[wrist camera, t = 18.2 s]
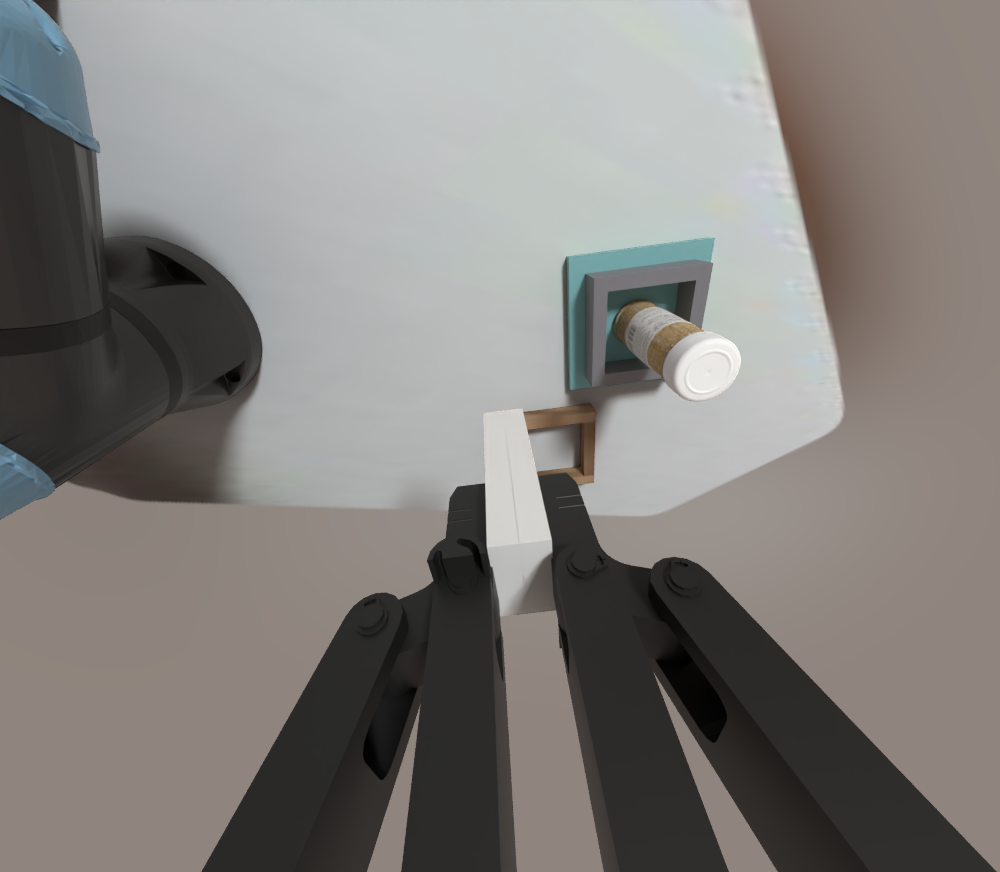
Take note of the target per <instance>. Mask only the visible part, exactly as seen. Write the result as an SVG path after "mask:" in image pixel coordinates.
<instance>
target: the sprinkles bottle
mask: <svg viewBox="0 0 1000 872" xmlns="http://www.w3.org/2000/svg"><path fill="white" fill-rule="evenodd" d="M614 333H615V336H616V337H617V339H618V340H619V341H620V342H621V343H622V344H624V345H626V346H627V347H628V348H629V350H630V351H631V352H633V353H634V354H635V355H636V356H637V357H638V358H639V359H640V360H641V361H642V362H644V363H645V364H646V365H647V366H648V367H649V368H650V369H651V370H653V371H655V372H656V373H658V374H659V375H660V376H661V377H662V378H663V379H664V380H665V382H666V384H667V385H668V386H669V387H670V388H671V389H672V390H673V391H674V392H675V393H677V394H678V395H679V396H681V397H682V398H684V399H686V400H689V401H705V400H709V399H711V398H714V397H716V396H717V395H719V394H721V393H722V392H723V391H725V390H726V389H727V388H728V387H729V386H730V385H731V384H732V383H733V381H734V380H735V378H736V376H737V374H738V372H739V369H740V364H741V358H740V353H739V351H738V349H737V347H736V346H735V345H734V344H733V343H732V342H730V341H729V340H727V339H725V338H723V337H722V336H720V335H718V334H716V333H713V332H705V331H704V330H702V329H700V328H698V327H696V326H695V325H693V324H692V323H690V322H688V321H686V320H684V319H682V318H680V317H678V316H676V315H674V314H672V313H670V312H669V311H667V310H664V309H662V308H659V307H657V306H655V305H654V304H653V303H652V302H650V301H648V300H643V299H640V300H634V301H631V302H629V303H628V304H626V305H625V306H624V307H623V308H622V309H621V310H620V311H619V312H618V314H617V316H616V318H615V322H614Z"/></svg>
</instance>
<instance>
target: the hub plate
mask: <svg viewBox="0 0 1000 872" xmlns="http://www.w3.org/2000/svg"><path fill="white" fill-rule="evenodd" d="M714 239H715V238H702V239H695V240H687V241H680V242H672V243H665V244H658V245H650V246H643V247H635V248H628V249H620V250H613V251H605V252H598V253H590V254H583V255H575V256H568V257H566V258H567V317H568V376H569V388H570V390H576V389H584V388H591V387H599V386H607V385H615V384H623V383H631V382H639V381H647V380H655V379H662V377H661V376H660V375H659V374H658V373H656V372H655V371H653V370H651V369H650V368H649V367H648V366H647V365H646V364H645V363H644V362H642V361H641V360H640V359H639V358H638V357H637V356H636V355H635V354H634V353H633V352H631V351H630V350H629V348H628V347H627V346H626V345H624V344H622V343H621V342H620V341H619V340H618V339H617V337H616V336H615V333H614V322H615V318H616V316H617V314H618V312H619V311H620V310H621V309H622V308H623V307H624V306H625V305H626V304H628V303H629V302H631V301H634V300H640V299H643V300H648V301H650V302H652V303H653V304H654V305H655V306H657V307H659V308H662V309H664V310H667V311H669V312H670V313H672V314H674V315H676V316H678V317H680V318H682V319H684V320H686V321H688V322H690V323H692V324H693V325H695V326H696V327H698V328H700V329H701V328H702V323H703V317H704V311H705V306H706V300H707V294H708V289H709V283H710V277H711V272H712V266H713V263H711V257H712V251H713V245H714Z"/></svg>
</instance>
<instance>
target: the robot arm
mask: <svg viewBox="0 0 1000 872" xmlns="http://www.w3.org/2000/svg"><path fill="white" fill-rule="evenodd" d="M96 152H97V153H100V145H99V142H98V141H97V140H96V139H95V138H94V137H93V131H92V126H91V120H90V115H89V110H88V104H87V98H86V92H85V85H84V78H83V72H82V68H81V64H80V61H79V59H78V56H77V54H76V52H75V50H74V48H73V46H72V44H71V43H70V41H69V39H68V38H67V37H66V35H65V34H64V32H63V31H62V30H61V29H60V27H59V26H58V25H57V24H56V23H55V22H54V21H53V19H52V18H51V17H50V16H49V15H48V14H47V13H46V12H45V11H44V10H43V9H42V8H41V7H39V6H38V5H37V4H36V3H35V2H34V1H32V0H0V520H1V519H2V518H4V517H6V516H8V515H9V514H11V513H13V512H15V511H16V510H18V509H20V508H22V507H23V506H25V505H27V504H29V503H31V502H33V501H34V500H38V499H42V498H45V497H47V496H48V495H50V494H52V492H53V491H55V490H54V489H56V488H57V487H58V486H60V485H62V484H63V483H65V482H66V481H68V480H69V479H71V478H72V477H74V476H75V475H77V474H78V473H80V472H81V471H83V470H84V469H86V468H87V467H89V466H90V465H92V464H93V463H95V462H96V461H98V460H99V459H101V458H102V457H104V456H105V455H107V454H108V453H110V452H111V451H113V450H114V449H116V448H117V447H119V446H120V445H122V444H123V443H125V442H126V441H128V440H129V439H131V438H132V437H134V436H135V435H137V434H138V433H140V432H141V431H143V430H144V429H146V428H147V427H149V426H150V425H152V424H153V423H155V422H156V421H158V420H159V419H161V418H162V417H164V416H165V415H167V414H172V413H177V412H181V411H186V410H191V409H195V408H200V407H205V406H210V405H214V404H217V403H219V402H222V401H224V400H226V399H228V398H230V397H231V396H233V395H234V394H236V393H237V392H238V391H240V390H241V389H243V388H244V387H245V386H246V385H248V383H249V382H250V381H251V380H252V379H253V378H254V376H255V374H256V372H257V370H258V368H259V365H260V360H261V339H260V334H259V330H258V327H257V324H256V321H255V319H254V317H253V315H252V313H251V311H250V309H249V307H248V306H247V304H246V302H245V301H244V299H243V298H242V296H241V295H240V294H239V292H238V291H237V290H236V289H235V288H234V286H233V285H232V284H231V283H230V282H229V281H228V280H227V279H226V278H225V277H224V276H223V275H222V274H221V273H220V272H218V271H217V270H216V269H215V268H214V267H212V266H211V265H210V264H208V263H207V262H206V261H204V260H203V259H201V258H200V257H198V256H196V255H195V254H193V253H191V252H189V251H187V250H185V249H183V248H181V247H179V246H177V245H174V244H171V243H169V242H166V241H162V240H159V239H154V238H149V237H140V236H128V237H113V238H103V230H102V218H101V206H100V194H99V182H98V170H97V158H96ZM484 451H485V483H484V484H476V485H468V486H460V487H457V488H456V490H455V491H454V493H453V494H452V496H451V497H450V501H449V513H448V524H447V531H446V538H445V539H444V540H442V541H440V542H439V543H437V545H435V547H434V548H433V549H432V550H431V551H430V554H429V557H428V559H427V562H428V564H429V568H430V571H431V574H432V577H433V580H434V581H433V582H432V583H431V584H429V585H428V586H427V587H426V588H424V589H422V590H420V591H418V592H416V593H414V594H412V595H409V596H407V597H404V598H402V599H400V600H398V599H397V598H396V596H394V595H392V594H388V593H375V594H373V595H370V596H368V597H365V598H363V599H362V600H361V601H359V602H358V603H357V604H356V605H354V606H353V608H352V609H351V610H350V611H349V613H348V614H347V615H346V617H345V619H344V620H343V622H342V624H341V626H340V627H339V629H338V631H337V633H336V635H335V636H334V638H333V640H332V642H331V643H330V645H329V647H328V649H327V650H326V652H325V654H324V656H323V658H322V659H321V661H320V663H319V665H318V667H317V668H316V670H315V672H314V673H313V675H312V677H311V679H310V681H309V682H308V684H307V686H306V688H305V690H304V691H303V693H302V695H301V697H300V698H299V700H298V702H297V704H296V705H295V707H294V709H293V711H292V712H291V714H290V716H289V718H288V720H287V721H286V723H285V725H284V727H283V728H282V730H281V732H280V734H279V736H278V737H277V739H276V741H275V743H274V744H273V746H272V748H271V750H270V752H269V753H268V755H267V757H266V758H265V760H264V762H263V764H262V766H261V767H260V769H259V771H258V773H257V774H256V776H255V778H254V780H253V782H252V783H251V785H250V787H249V789H248V790H247V792H246V794H245V796H244V797H243V799H242V801H241V803H240V805H239V806H238V808H237V810H236V812H235V813H234V815H233V817H232V819H231V820H230V822H229V824H228V826H227V828H226V829H225V831H224V833H223V835H222V837H221V838H220V840H219V842H218V844H217V846H216V847H215V849H214V851H213V852H212V854H211V856H210V858H209V859H208V861H207V863H206V865H205V866H204V868H203V870H202V872H367V869H368V866H369V863H370V860H371V857H372V854H373V850H374V847H375V844H376V841H377V838H378V835H379V832H380V829H381V825H382V822H383V819H384V816H385V813H386V810H387V807H388V803H389V800H390V797H391V794H392V791H393V788H394V785H395V781H396V778H397V775H398V772H399V769H400V766H401V763H402V760H403V757H404V753H405V750H406V747H407V744H408V741H409V738H410V734H411V731H412V728H413V725H414V722H415V719H416V716H417V713H418V709H419V706H420V703H421V707H420V715H419V724H418V732H417V742H416V749H415V758H414V767H413V775H412V784H411V793H410V802H409V810H408V818H407V827H406V836H405V844H404V854H403V862H402V871H401V872H517V868H516V855H515V854H516V852H515V835H514V818H513V801H512V785H511V768H510V751H509V734H508V717H507V701H506V683H505V667H504V650H503V637H502V632H501V626H500V617H501V616H510V615H519V614H528V613H536V612H545V611H553V610H556V611H557V616H558V623H559V624H558V626H559V643H560V648H562V651H563V657H564V662H565V667H566V673H567V678H568V683H569V688H570V694H571V699H572V705H573V710H574V715H575V720H576V726H577V731H578V736H579V742H580V746H581V752H582V758H583V763H584V768H585V773H586V778H587V784H588V789H589V795H590V800H591V805H592V810H593V816H594V821H595V826H596V832H597V837H598V842H599V848H600V853H601V858H602V864H603V869H604V872H729V871H728V869H727V866H726V863H725V861H724V858H723V855H722V853H721V850H720V847H719V845H718V842H717V839H716V837H715V834H714V832H713V829H712V826H711V824H710V821H709V818H708V816H707V813H706V810H705V808H704V805H703V802H702V800H701V797H700V794H699V792H698V789H697V786H696V784H695V781H694V779H693V776H692V773H691V771H690V768H689V765H688V763H687V760H686V757H685V755H684V752H683V749H682V747H681V744H680V741H679V739H678V736H677V734H676V731H675V728H674V726H673V723H672V720H671V718H670V715H669V712H668V710H667V707H666V704H665V702H664V699H663V696H662V694H661V691H660V689H659V686H658V683H657V681H656V678H655V675H656V676H657V678H658V680H659V681H660V683H661V684H662V686H663V687H664V689H665V691H666V692H667V694H668V696H669V697H670V699H671V701H672V702H673V704H674V705H675V707H676V709H677V710H678V712H679V713H680V715H681V717H682V718H683V720H684V721H685V723H686V725H687V726H688V728H689V729H690V731H691V733H692V734H693V736H694V737H695V739H696V741H697V742H698V744H699V746H700V747H701V749H702V750H703V752H704V754H705V755H706V757H707V758H708V760H709V762H710V763H711V765H712V767H713V768H714V770H715V771H716V773H717V775H718V776H719V778H720V779H721V781H722V783H723V784H724V786H725V787H726V789H727V791H728V792H729V794H730V795H731V797H732V799H733V800H734V802H735V803H736V805H737V807H738V808H739V810H740V811H741V813H742V814H743V816H744V818H745V819H746V821H747V822H748V824H749V826H750V828H751V829H752V831H753V832H754V834H755V836H756V837H757V839H758V840H759V842H760V844H761V845H762V847H763V849H764V850H765V852H766V853H767V855H768V857H769V858H770V860H771V861H772V863H773V865H774V866H775V868H776V869H777V871H778V872H996V871H995V870H994V869H993V868H992V867H991V865H990V864H989V863H988V862H987V861H986V860H985V859H984V858H983V857H982V856H981V855H980V854H979V853H978V852H977V851H976V850H975V849H974V848H973V847H972V846H971V845H970V844H969V843H968V842H967V841H966V840H965V839H964V837H963V836H962V835H961V834H960V833H959V832H958V831H957V830H956V829H955V828H954V827H953V826H952V825H951V824H950V823H949V822H948V821H947V820H946V819H945V818H944V817H943V816H942V814H941V813H940V812H939V811H938V810H937V809H936V808H935V807H934V806H933V805H932V804H931V803H930V802H929V801H928V800H927V799H926V798H925V797H924V796H923V795H922V794H921V793H920V792H919V791H918V790H917V789H916V788H915V787H914V785H912V783H911V782H910V781H909V780H908V779H907V778H906V777H905V776H904V775H903V774H902V773H901V772H900V771H899V770H898V769H897V768H896V767H895V766H894V765H893V764H892V763H891V762H890V760H888V758H887V757H886V756H885V755H884V754H883V753H882V752H881V751H880V750H879V749H878V748H877V747H876V746H875V745H874V744H873V743H872V742H871V741H870V740H869V739H868V738H867V736H866V735H865V734H864V733H863V732H862V731H861V730H860V729H859V728H858V727H857V726H856V725H855V724H854V723H853V722H852V721H851V720H850V719H849V718H848V717H847V716H846V715H845V714H844V713H843V711H841V709H840V708H839V707H838V706H837V705H836V704H835V703H834V702H833V701H832V700H831V699H830V698H829V697H828V696H827V695H826V694H825V693H824V692H823V691H822V690H821V689H820V688H819V686H818V685H817V684H816V683H814V681H813V680H812V679H811V678H810V677H809V676H808V675H807V674H806V673H805V672H804V671H803V670H802V669H801V668H800V667H799V666H798V665H797V664H796V663H795V662H794V660H792V658H791V657H790V656H788V654H787V653H786V652H785V651H784V650H783V649H782V648H781V647H780V646H779V645H778V644H777V643H776V642H775V641H774V640H773V639H772V638H771V637H770V635H768V633H767V632H766V631H765V630H764V629H763V628H762V627H761V626H760V625H759V624H758V623H757V622H756V621H755V620H754V619H753V618H752V617H751V616H750V615H749V614H748V613H747V611H746V610H745V609H744V608H743V607H742V606H741V605H740V604H739V603H738V602H737V601H736V600H735V599H734V598H733V597H732V596H731V595H730V594H729V593H728V592H727V591H726V590H725V589H724V588H723V587H722V585H721V584H720V583H719V582H718V581H717V580H716V579H715V578H714V577H713V576H712V575H711V574H710V573H709V572H708V571H707V570H705V569H704V568H703V567H701V566H700V565H699V564H697V563H695V562H692V561H690V560H688V559H684V558H677V557H671V558H664V559H662V560H660V561H659V562H657V563H655V564H654V566H653V568H652V569H649V568H643V567H636V566H631V565H627V564H623V563H621V562H618V561H616V560H614V559H612V558H611V557H610V556H608V555H607V554H606V553H605V552H604V551H603V550H602V548H601V547H600V545H599V543H598V541H597V538H596V535H595V532H594V529H593V527H592V524H591V521H590V518H589V516H588V513H587V510H586V507H585V506H584V502H583V499H582V496H581V494H580V491H579V488H578V485H577V482H576V481H575V480H574V479H573V478H572V477H571V476H569V475H568V474H567V473H566V472H565V473H557V474H549V475H541V476H537V471H536V467H535V462H534V458H533V453H532V449H531V445H530V440H529V436H528V431H527V427H526V422H525V418H524V413H523V409H522V408H520V409H512V410H504V411H496V412H488V413H484ZM653 672H654V673H655V675H654V673H653Z"/></svg>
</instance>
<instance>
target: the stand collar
mask: <svg viewBox="0 0 1000 872" xmlns="http://www.w3.org/2000/svg"><path fill="white" fill-rule="evenodd" d="M523 413H524V418H525V422H526V427H527V430H530V429H538V428H546V427H554V426H562V425H570V424H578V423H580V467H573V468H565V469H556V470H548V471H540V472H537V476H541V475H549V474H557V473H565V472H566V473H567V474H568V475H569V476H571V477H572V478H573V479H574V480H575V481H576V482H577V485H579V484H587V483H594V454H595V417H596V412H595V410H594V408H593V406H592V405H591V404H584V405H576V406H568V407H560V408H552V409H545V410H537V411H529V412H523Z"/></svg>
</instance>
